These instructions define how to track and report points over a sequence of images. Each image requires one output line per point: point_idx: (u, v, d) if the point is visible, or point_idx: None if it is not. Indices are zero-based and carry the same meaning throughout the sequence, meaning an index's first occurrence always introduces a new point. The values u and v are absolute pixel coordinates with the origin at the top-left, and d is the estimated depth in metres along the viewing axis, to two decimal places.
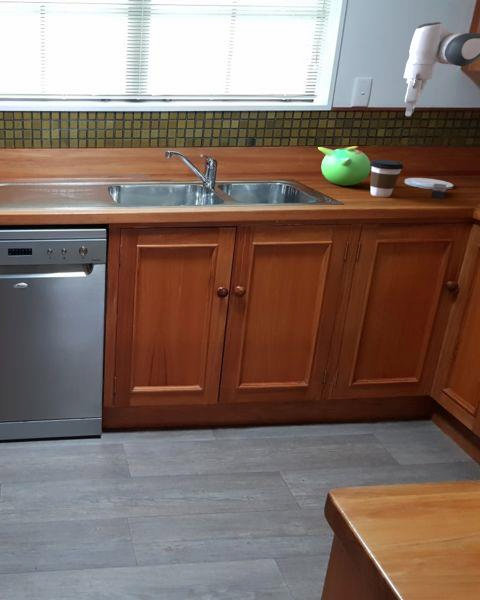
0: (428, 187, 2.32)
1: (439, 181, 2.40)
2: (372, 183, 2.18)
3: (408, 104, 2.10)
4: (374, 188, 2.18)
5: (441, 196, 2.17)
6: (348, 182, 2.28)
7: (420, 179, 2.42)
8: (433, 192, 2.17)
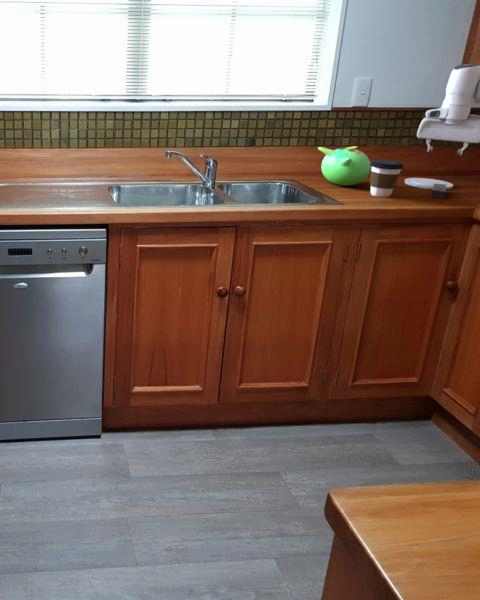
0: (428, 187, 2.32)
1: (439, 181, 2.40)
2: (372, 183, 2.18)
3: None
4: (374, 188, 2.18)
5: (441, 196, 2.17)
6: (348, 182, 2.28)
7: (420, 179, 2.42)
8: (433, 192, 2.17)
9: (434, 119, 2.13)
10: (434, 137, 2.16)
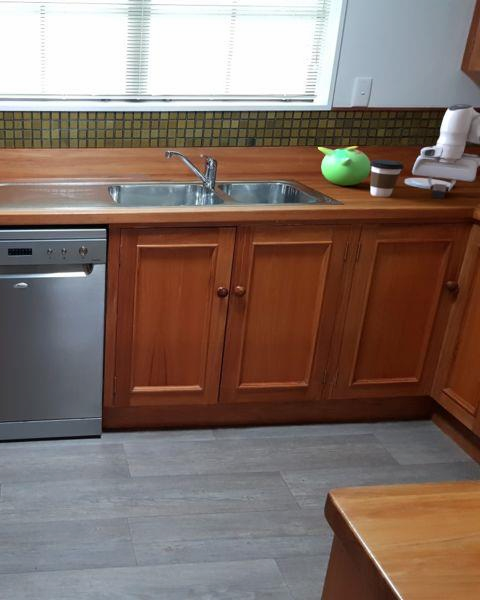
0: (428, 187, 2.32)
1: (439, 181, 2.40)
2: (372, 183, 2.18)
3: (455, 181, 2.18)
4: (374, 188, 2.18)
5: (441, 196, 2.17)
6: (348, 182, 2.28)
7: (420, 179, 2.42)
8: (433, 192, 2.17)
9: (429, 157, 2.18)
10: (429, 175, 2.21)
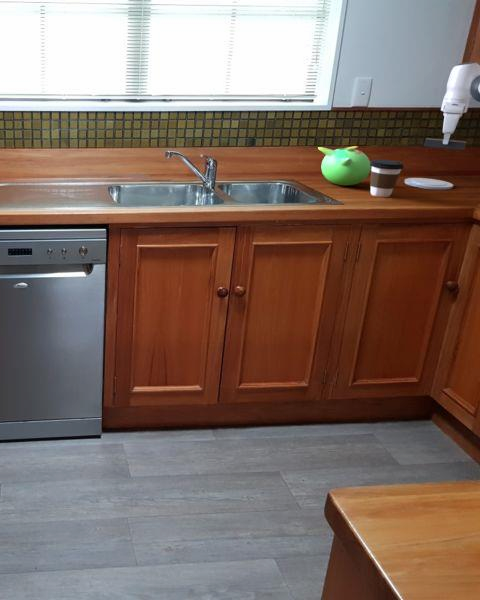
0: (428, 187, 2.32)
1: (439, 181, 2.40)
2: (372, 183, 2.18)
3: None
4: (374, 188, 2.18)
5: None
6: (348, 182, 2.28)
7: (420, 179, 2.42)
8: (465, 144, 2.36)
9: (460, 114, 2.30)
10: None
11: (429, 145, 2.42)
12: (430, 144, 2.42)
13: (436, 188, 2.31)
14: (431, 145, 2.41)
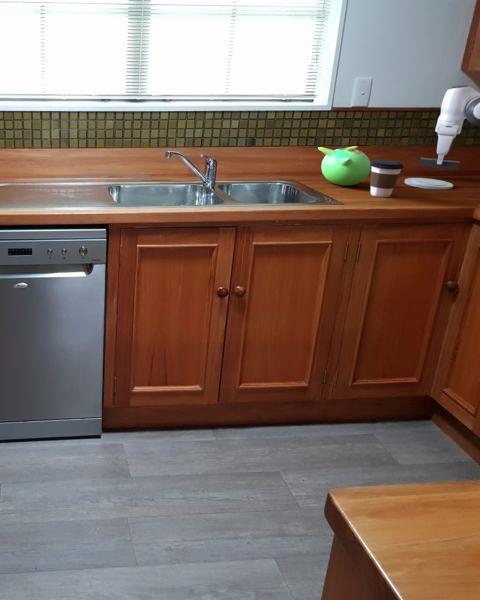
0: (428, 187, 2.32)
1: (439, 181, 2.40)
2: (372, 183, 2.18)
3: None
4: (374, 188, 2.18)
5: None
6: (348, 182, 2.28)
7: (420, 179, 2.42)
8: None
9: (454, 136, 2.37)
10: None
11: (424, 165, 2.48)
12: (425, 164, 2.48)
13: (436, 188, 2.31)
14: (426, 165, 2.48)
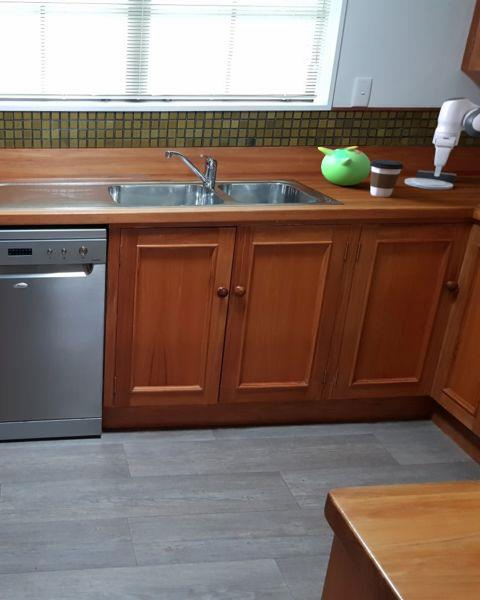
0: (428, 187, 2.32)
1: (439, 181, 2.40)
2: (372, 183, 2.18)
3: None
4: (374, 188, 2.18)
5: None
6: (348, 182, 2.28)
7: (420, 179, 2.42)
8: (455, 177, 2.44)
9: (451, 147, 2.38)
10: None
11: (421, 177, 2.50)
12: (422, 176, 2.50)
13: (436, 188, 2.31)
14: (423, 177, 2.50)
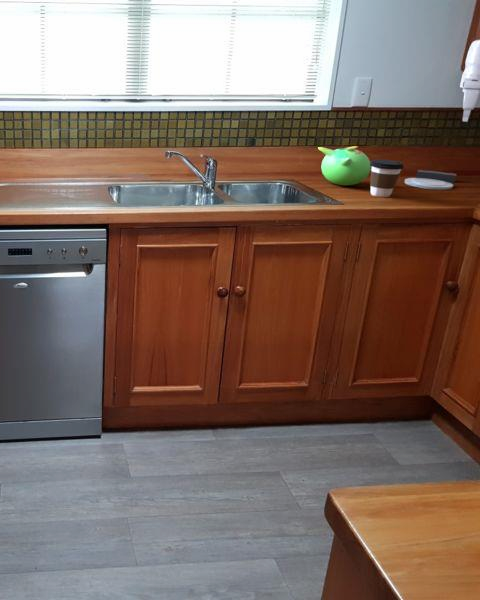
0: (428, 187, 2.32)
1: (439, 181, 2.40)
2: (372, 183, 2.18)
3: None
4: (374, 188, 2.18)
5: None
6: (348, 182, 2.28)
7: (420, 179, 2.42)
8: (455, 177, 2.44)
9: None
10: None
11: (421, 177, 2.50)
12: (422, 176, 2.50)
13: (436, 188, 2.31)
14: (423, 177, 2.50)
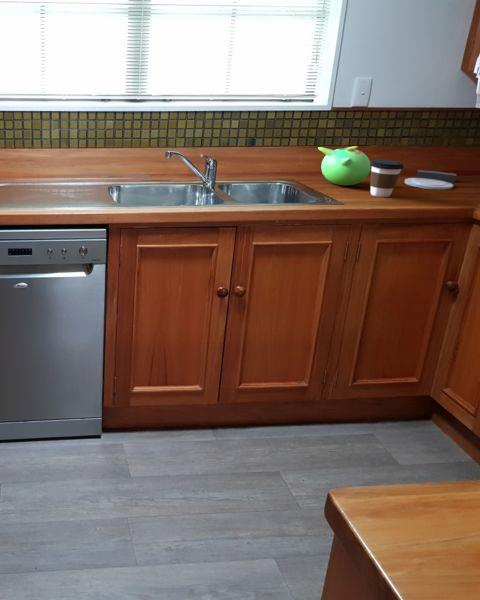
0: (428, 187, 2.32)
1: (439, 181, 2.40)
2: (372, 183, 2.18)
3: None
4: (374, 188, 2.18)
5: None
6: (348, 182, 2.28)
7: (420, 179, 2.42)
8: (455, 177, 2.44)
9: None
10: None
11: (421, 177, 2.50)
12: (422, 176, 2.50)
13: (436, 188, 2.31)
14: (423, 177, 2.50)
